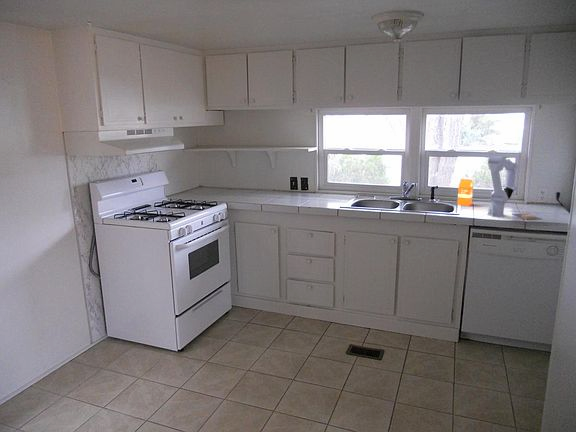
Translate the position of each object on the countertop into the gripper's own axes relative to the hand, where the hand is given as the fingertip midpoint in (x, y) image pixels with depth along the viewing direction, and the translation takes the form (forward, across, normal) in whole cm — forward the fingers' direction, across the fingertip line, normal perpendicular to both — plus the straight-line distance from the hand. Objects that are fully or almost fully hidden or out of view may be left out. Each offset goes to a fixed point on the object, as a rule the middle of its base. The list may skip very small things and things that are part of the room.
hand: (508, 198), depth 315 cm
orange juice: (+11, +31, +17) cm, 37 cm away
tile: (+9, -18, -2) cm, 20 cm away
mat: (+10, -16, -5) cm, 20 cm away
